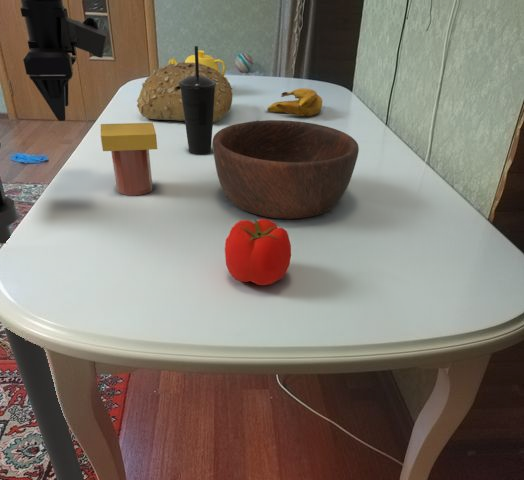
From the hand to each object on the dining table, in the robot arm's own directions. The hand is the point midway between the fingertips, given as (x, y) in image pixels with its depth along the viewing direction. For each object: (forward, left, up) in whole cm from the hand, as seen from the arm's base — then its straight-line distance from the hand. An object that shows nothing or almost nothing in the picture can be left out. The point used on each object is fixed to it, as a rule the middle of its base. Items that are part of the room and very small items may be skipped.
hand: (63, 113), depth 84 cm
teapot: (+33, +75, -13) cm, 83 cm away
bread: (+26, +50, -13) cm, 58 cm away
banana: (+56, +50, -13) cm, 76 cm away
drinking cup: (+25, +19, -13) cm, 34 cm away
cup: (+10, -1, -13) cm, 16 cm away
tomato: (+25, -36, -13) cm, 46 cm away
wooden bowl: (+36, -9, -13) cm, 39 cm away
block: (+10, -1, -5) cm, 11 cm away
